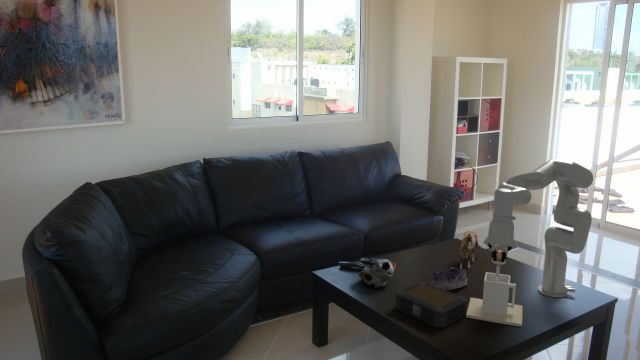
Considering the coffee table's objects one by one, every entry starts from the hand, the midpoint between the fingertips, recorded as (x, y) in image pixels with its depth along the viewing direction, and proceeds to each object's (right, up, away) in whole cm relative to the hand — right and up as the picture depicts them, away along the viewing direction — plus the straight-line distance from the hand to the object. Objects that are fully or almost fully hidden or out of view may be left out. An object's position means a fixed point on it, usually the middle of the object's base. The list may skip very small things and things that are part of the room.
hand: (498, 259), depth 213 cm
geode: (-13, -18, +32) cm, 39 cm away
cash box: (-28, -24, +6) cm, 37 cm away
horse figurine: (+7, -12, +59) cm, 61 cm away
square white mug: (0, -24, +5) cm, 24 cm away
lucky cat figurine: (-47, -17, +37) cm, 62 cm away
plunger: (0, -17, +4) cm, 17 cm away
